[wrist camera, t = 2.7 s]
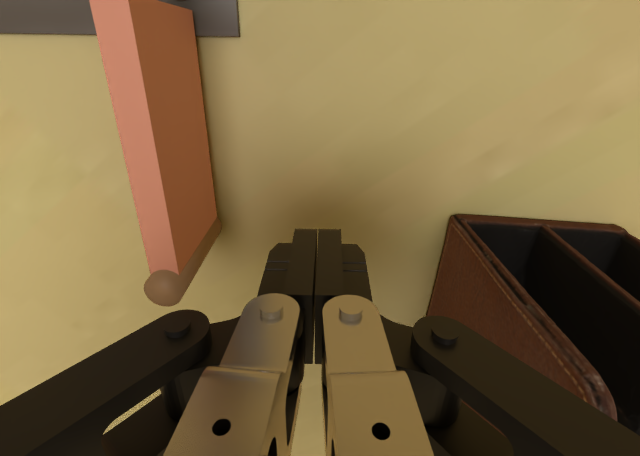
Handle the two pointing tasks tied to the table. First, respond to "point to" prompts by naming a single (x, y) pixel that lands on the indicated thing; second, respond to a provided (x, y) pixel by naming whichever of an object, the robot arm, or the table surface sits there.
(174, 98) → the swing panel
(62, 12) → the grey and brown panels
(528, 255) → the letter holder
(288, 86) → the table surface
